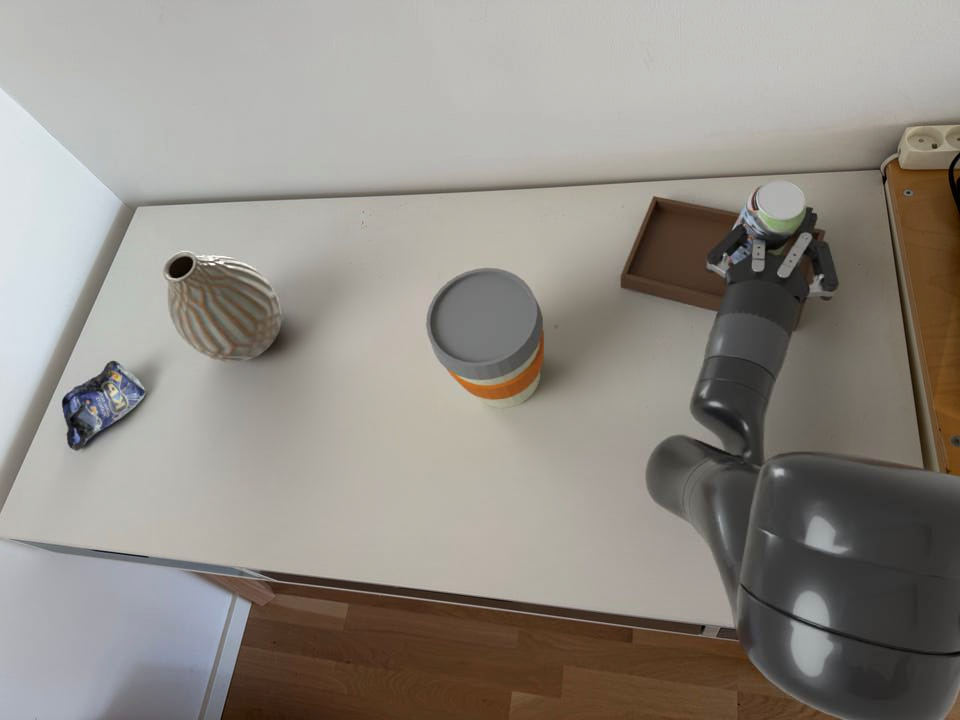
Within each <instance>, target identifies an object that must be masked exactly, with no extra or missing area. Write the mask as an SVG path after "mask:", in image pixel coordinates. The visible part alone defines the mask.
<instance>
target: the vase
mask: <svg viewBox="0 0 960 720" xmlns="http://www.w3.org/2000/svg"><path fill="white" fill-rule="evenodd" d="M162 269H163V270H162V273H163V278H164V279H165V280H166V281H167V284H168V285H167V297H166V298H167V299H166V300H167V308H168V309H167V310H168V313H169V316H170V319H171V322H172V324H173V326H174V328H175V330H176V332H177V333H178V334H179V336H180V337H181V338H182V339H183V341H184V342H186V343H187V344H188V345H189V346H190V347H191V348H193V350H195V351H197V352H198V353H200V354H201V355H202V356H205V357H207V358H209V359H212V360H215V361H218V362H219V361H220V362H224V363H225V362H226V363H239V362H244V361H249V360H251V359H254V358H256V357H258V356H260V355H262V354H263V353H264V352H265V351H267V350H268V349H269V348H270V346H272V344H273V343H274V342H275V340H276V338H277V337H278V335H279V333H280V329H281V325H282V314H283V313H282V308H281V307H282V306H281V302H280V299H279V297H278V295H277V292H276V290H275V288H274V287H273V285H272V284H271V283H270V282H269V280H268V279H267V278H266V277H265V276H264V275H263V274H262V273H261V272H259V270H257V269H256V268H255V267H254V266H251V265H250V264H248V263H246V262H244V261H242V260H239V259H236V258H234V257H229V256H225V255H224V256H223V255H212V254H211V255H208V254H207V255H206V254H205V255H198V254H195V253H194V252H192V251H189V250H182V251H179V252H176V253H175V254H173V255H172V256H171V257H170V258H169V259H168V260H167V261H166V262H165V264H164V266H163V268H162Z"/></svg>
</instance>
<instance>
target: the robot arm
mask: <svg viewBox="0 0 960 720" xmlns="http://www.w3.org/2000/svg"><path fill="white" fill-rule="evenodd" d="M813 211H814V207H810V206H806V213H805V217H804V219H803V221H802V222H801V224H800V228H799V231H798V234H797V237H796V241H795V244H794V246H793V247H792V248H791V250H790V252H789V253H788V255H787V256H785V255H774V254H772V253H770V252H767V251H765V239H762V238H759V237H756V236H754V235H753V239H752V246H750V250H749V256H747V257H746V258H744V259H743V260H741V261H739V262H738V263H736V264H734V265H733V266H731V267H729V261H730V257H731V256H732V255H733V254H734V253H735V252H736V251H737V250H738V249H739V248H740V247H741V246H742V245H743V243H746V242H747V239H748V236H749V235H747V234H746V231H747V230H746V229H745V227H744V226H743V224H739V225H737V226H736V227H735V228H734V229H733V230H732V231H731V232H730V233H729V234H728V235H727V236H726V237H725V238H724V239H723V240H722V241H721V242H720V243H719V244H718V245H717V246H716V247H715V248H714V249H713V250H712V251H711V252H709V254H708V255H707V260H706V266H705V270H706V272H708V273H714V272H716V273H718V274H719V275H721V276H722V277H724V284H725V291H724V294H723V297H722V300H721V303H720V306H719V309H718V312H716V316H715V318H714V321H713V324H712V327H711V330H710V332H709V335H708V339H707V343H706V346H705V351H704V356H703V361H702V365H701V367H700V371H699V373H698V375H697V376H698V377H697V379H696V381H695V385H694V389H693V391H692V395H691V397H690V401H689V411H690V414H691V416H692V417H693V419H694V420H695V421H696V422H697V423H699V425H701V426H702V427H704V428H705V429H706V430H708V431H709V432H710V433H712V434H713V435H714V436H715V437H716V438H718V439H719V441H720V442H721V444H722V446H723V449H721V448H719V447H717V446H714V445H712V444H710V443H707V442H704V441H702V440H700V439H697V438H695V437H692V436H690V435H688V434H679V433H677V434H673V435H670V436H668V437H666V438H664V439H662V440H661V441H660V442H659V443H658V444H657V445H656V446H655V447H654V449H653V450H652V451H651V453H650V455H649V457H648V460H647V463H646V466H645V472H644V473H645V474H644V476H645V477H644V478H645V479H644V480H645V486H646V490H647V493H648V494H649V497H650V498H651V499H652V501H653V502H654V503H655V504H657V505H658V506H659V507H661V508H662V509H664V510H666V511H667V512H669V513H671V514H673V515H675V516H676V517H678V518H680V519H681V520H684V521H686V522H687V523H689V524H690V525H691V527H692V528H693V529H694V530H695V531H696V532H697V533H698V535H699V536H700V537H701V538H702V539H703V540H704V541H705V543H706V544H707V547H708V548H709V550H710V553H711V555H712V558H713V560H714V562H715V566H716V568H717V571H718V574H719V576H720V580H721V583H722V585H723V588H724V591H725V595H726V597H727V600H728V603H729V606H730V611H731V615H732V620H733V625H734V629H735V633H736V636H737V639H738V641H739V644H740V647H741V649H742V650H743V652H744V654H745V655H746V657H747V658H748V660H749V661H750V662H751V663H752V665H753V666H754V667H755V668H756V669H757V670H758V671H759V672H760V673H761V674H762V676H763V677H765V678H766V679H767V680H768V681H769V682H771V683H772V684H773V685H774V686H775V687H777V688H778V689H779V690H781V692H784V693H786V694H787V695H789V696H791V697H793V698H794V699H795V700H797V701H799V703H802V704H804V705H806V706H808V707H810V708H813V709H816V710H817V711H819V712H822V713H824V714H827V715H829V716H832V717H835V718H838V719H840V720H945V718H946V717H947V716H948V714H949V713H950V711H951V710H952V708H953V706H954V705H955V703H956V701H957V698H958V695H959V693H960V476H958V475H954V474H950V473H944V472H941V471H935V470H932V469H927V468H922V467H918V466H912V465H909V464H908V465H907V464H903V463H898V462H894V461H888V460H884V459H879V458H873V457H868V456H863V455H862V456H861V455H855V454H849V453H841V452H835V451H822V450H821V451H820V450H793V451H788V452H787V451H786V452H784V453H782V452H781V453H778V454H776V455H773V456H771V457H769V458H768V459H767V460H766V461H765V423H766V416H767V411H768V408H769V405H770V400H771V398H772V394H773V391H774V388H775V384H776V382H777V379H778V376H779V374H780V373H781V371H782V369H783V366H784V363H785V360H786V356H787V353H788V350H789V346H790V342H791V339H792V335H793V332H794V331H793V328H794V325H795V321H796V318H797V314H798V311H799V308H800V305H801V304H802V303H803V302H805V303H806V301H807V300H808V298H815V297H816V298H817V297H819V298H820V299H821V300H822V301H825V302H826V301H827V302H828V301H830V300H832V298H833V297H834V295H835V293H836V291H837V289H838V287H839V285H840V282H839V278H838V275H837V272H836V268H835V264H834V260H833V256H832V252H831V249H830V245H829V243H828V241H825V240H823V241H819V242H818V241H816V240H815V239H814V238H813V231H814V228H815V227H816V225H817V221H818V218H819V217H818V214H817V212H813ZM804 255H806V256H808V257H810V258H811V263H812V267H813V271H814V273H813V278H812V280H811V284H810V285H808V283H807V281H806V279H805V277H804V276H803V274H802V272H801V270H800V268H799V267H798V266H799V264H800V262H801V260H802V258H803V257H804Z"/></svg>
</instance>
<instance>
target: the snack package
mask: <svg viewBox="0 0 960 720" xmlns="http://www.w3.org/2000/svg"><path fill="white" fill-rule="evenodd" d="M146 393H147V391H146V389H145V386H144V385H143V384H142V383H141V382H140V380H139V379H138V378H137V377H136V376H135V375H134V374H132V373H131V372H130V371H129V370H127V369H126V368H125V367H124V366H123V365H122V364H121V363H120V362H118V361H116V360H110V361H109V362H107V363H106V364H105V366H104V368H103V369H102V371H101V373H99V374H98V375H96V376H93V377H92V378H90V379H88V380H87V381H85V382H83V383H82V384H80V385H76V386H74V387H73V389H72V390H70V391H69V392H67V393H66V394H65V395H63V398H62V400H61V408H62V413H63V417H64V420H65V424H66V426H67V432H66V441H67V445H68V447H69V449H72V450H73V451H76V452H78V451H80V450H81V449H82V448H83V446H84V445H86V443H87V442H88V441H89V440H90V439H91V438H93V436H95V435H96V434H97V433H99V432H100V431H102V430H104V429H105V428H107V427H109V426H110V425H112V424H114V423H115V422H116V421H118V420H120V419H122V418H124V416H126V415H127V414H129V412H131V411H132V410H133V409H134V408H135V407H136V406H137V405H138V404H139V403H140V402H141V401H142V400H143V399H144V397H145V395H146Z"/></svg>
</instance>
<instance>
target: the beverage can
mask: <svg viewBox="0 0 960 720" xmlns="http://www.w3.org/2000/svg"><path fill="white" fill-rule="evenodd" d="M806 207H807V206H806V198H805V194H804V192H803V191H802V190H801V189H800V188H799V187H798V186H797V185H795V184H794V183H792V182H789V181H787V180H780V179H775V180H770V181H768V182H766V183H764V184H762V185H760V186H759V187H757V188H756V189H753V191H752V192H751V193H750V194H749V196H748V199H747V200H746V202H745V205H744V206H743V208H742V209H741V212H740V213H741V214H740V216H739V218H738V220H737V221H736V223H735V225H734V227H733V229H734V228H735V227H736V226H737V225H739V224H743V226H744V227H745V229H746V230H747V231H746V234H747V235H749V236H748V239H747V242H746V243H743V245H742V246H741V247H740V248H739V249H738V250H737V251H736V252H735V253H734V254H733V255H732V256H731V257H730V261H729V264H730V265H731V266H733V265H734V264H736V263H738V262H739V261H741V260H743V259H744V258H746V257H747V256H749V250H750V246H752V239H753V235H754V236H756V237H759V238H762V239H765V251H767V252H770V253H772V254H774V255H780V253H781V252H782V250H783V249H784V247H785V246H786V244H787V243H788V241H789V240H790V239H791V237H792V236H793V234H794V233H795V231H796V230H797V228H798V227H799V225H800V224H801V222H802V221H803V219H804V217H805V213H806ZM733 229H732V230H733Z"/></svg>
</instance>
